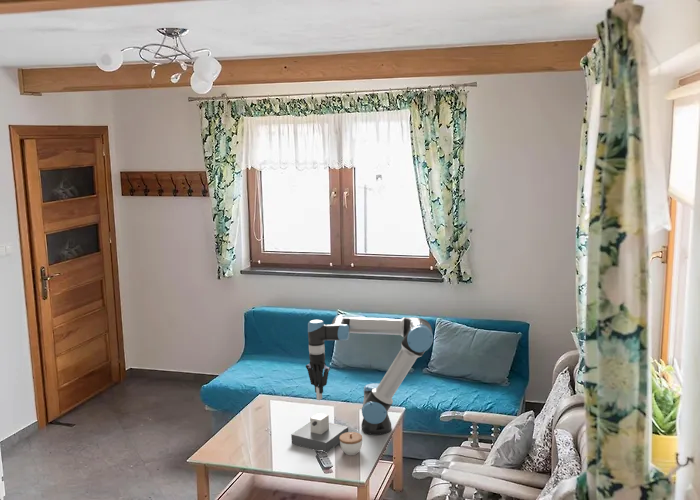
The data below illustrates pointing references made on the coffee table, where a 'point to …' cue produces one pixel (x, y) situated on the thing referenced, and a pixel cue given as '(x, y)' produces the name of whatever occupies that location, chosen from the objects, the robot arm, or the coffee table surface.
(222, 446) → the coffee table surface
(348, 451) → the lidded jar
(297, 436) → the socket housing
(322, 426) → the plug
